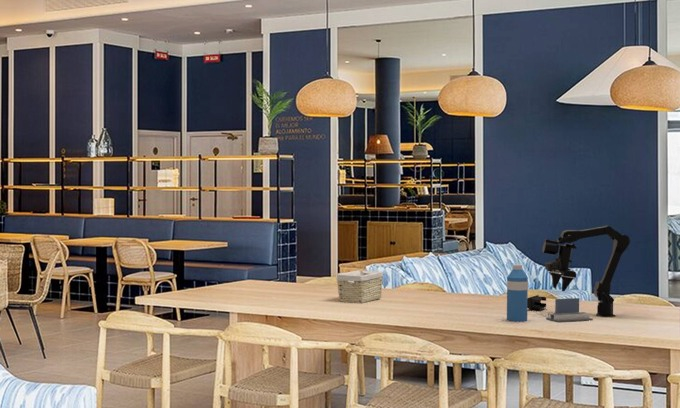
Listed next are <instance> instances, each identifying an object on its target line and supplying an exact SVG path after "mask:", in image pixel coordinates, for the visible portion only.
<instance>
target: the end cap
mask: <svg viewBox="0 0 680 408" xmlns="http://www.w3.org/2000/svg"><path fill="white" fill-rule="evenodd" d="M542 301H543V302H542ZM545 301H547V297H546V296H540V295H539V294H538V295H534V296H530V297H528V298H527V310H529V311H531V312H542V311H545V310H547V309H546V307H547V303H546V302H545Z"/></svg>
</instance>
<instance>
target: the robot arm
mask: <svg viewBox="0 0 680 408" xmlns="http://www.w3.org/2000/svg"><path fill="white" fill-rule="evenodd" d="M603 235H604V236H605V235H606V236H607V237H609V238H610V240H613V244H612V252H611V255H610V257H609V260H608V263H607V265H606V267H605V270H604V272H603V275H602V278H601V280H600V281H596V282H595V285H594V287H593V288H592V290H593V295H594V297H596V298H597V300H598V301H597V303H598V304H597V308H596V309H597V312H596V313H595V316H601V317H615V316H616V315H615V314H614V301H615V298H613V297H612V295H610V293H611V288H612V287H611V285H612V284H611V283H612V280H613V278H614V275H615V273H616V270H617V268H618V265H619V263H620V260H621V257H622V256H623V254H624V252H626V251H627V249H628V247H629V246H630V243H631V239H630V237H629V236H628V235H626V234H623V233H621V232H619V231H617V230H616V229H614V228H613V227H612V226H610V225H603V226H599V227H598V226H597V227H592V228H586V229H581V230H580V229H576V230H575V229H565V230H562V232H561V233H560V236H559V237H558V238H557V239H556V240H551V239H547V238H545V239H544V242H543V245H542V254H546V255H552V256H555V255H557V254H558V255H557V257H555V259H554V260H552V261H551V260H550V261H547V262H544V266H545V267H544V268H545V270H546V271H547V272H548V274H549V275H550V276H551V282H552V288H553V289H557V286H559V285H558V284H559V282H560V280H562V281H561V282H562V283H561V291H562V292H565V291H566V289H567V288H568V287H569V286H570V284H571V283H572V281H573V280H575V278H577V272H576V271H574V270H571V268H570V265H571V264H570V263H573V260H572V259H571V257H572V251H573V250H576V249H577V248H578V247H577V246H576V245H575V243H574V242H577V241H580V240H582V239H587V238H592V237H598V236H603Z"/></svg>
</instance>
